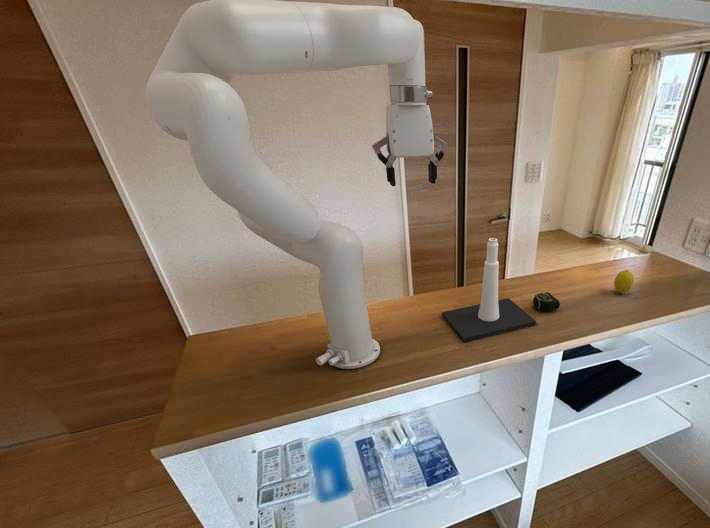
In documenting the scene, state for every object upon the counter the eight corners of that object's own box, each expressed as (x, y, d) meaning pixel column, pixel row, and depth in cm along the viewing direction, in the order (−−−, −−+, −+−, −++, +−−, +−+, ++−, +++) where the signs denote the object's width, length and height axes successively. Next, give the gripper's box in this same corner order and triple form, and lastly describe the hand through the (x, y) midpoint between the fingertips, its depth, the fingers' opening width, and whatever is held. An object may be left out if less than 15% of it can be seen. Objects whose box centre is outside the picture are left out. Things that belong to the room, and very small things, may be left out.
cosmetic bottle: (501, 312, 106) (507, 236, 93) (496, 323, 101) (502, 244, 88) (481, 309, 107) (484, 234, 95) (475, 319, 102) (477, 241, 90)
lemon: (633, 294, 118) (640, 270, 114) (622, 298, 116) (629, 275, 111) (618, 287, 122) (624, 265, 118) (607, 292, 120) (613, 268, 115)
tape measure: (559, 311, 109) (562, 300, 107) (539, 315, 107) (540, 303, 105) (548, 301, 114) (550, 290, 112) (528, 304, 112) (529, 293, 110)
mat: (463, 342, 95) (463, 338, 95) (442, 315, 106) (441, 312, 106) (535, 324, 103) (536, 321, 102) (508, 301, 114) (508, 297, 113)
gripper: (440, 97, 84) (441, 179, 93) (363, 96, 78) (373, 183, 88) (452, 97, 78) (452, 184, 87) (370, 96, 72) (379, 189, 82)
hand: (412, 184), depth 87 cm, fingers open, 9 cm apart
